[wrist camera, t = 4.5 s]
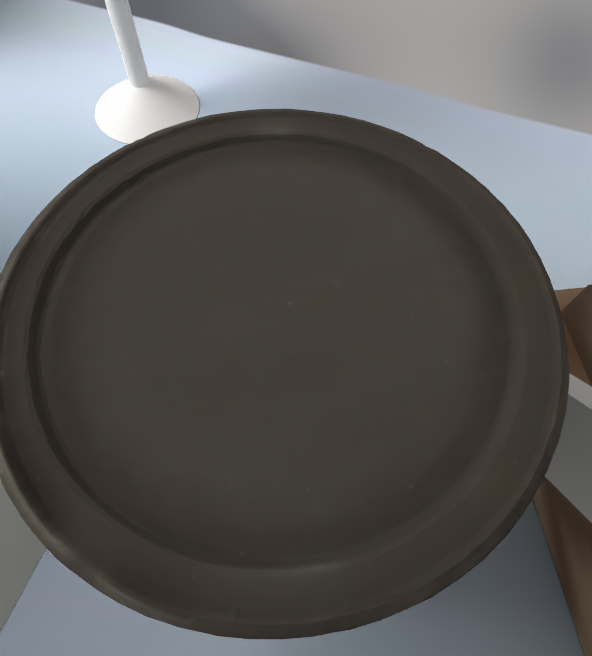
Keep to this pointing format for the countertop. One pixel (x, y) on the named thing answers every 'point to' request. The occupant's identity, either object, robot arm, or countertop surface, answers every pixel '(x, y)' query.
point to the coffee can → (276, 374)
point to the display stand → (552, 506)
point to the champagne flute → (140, 89)
